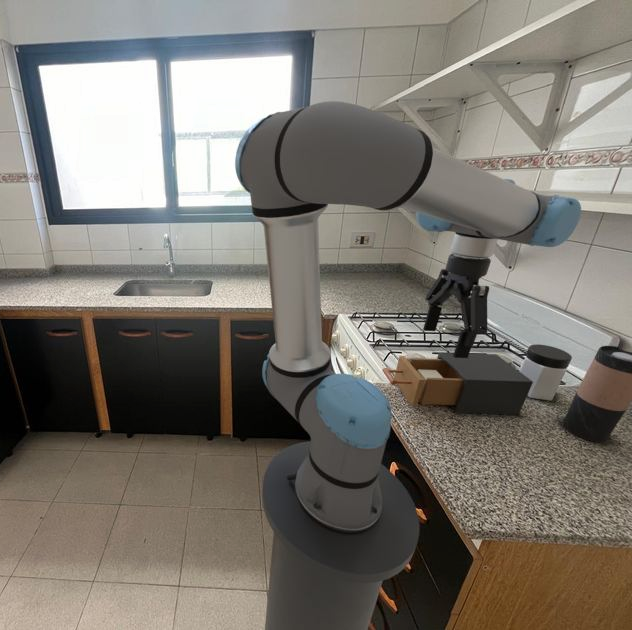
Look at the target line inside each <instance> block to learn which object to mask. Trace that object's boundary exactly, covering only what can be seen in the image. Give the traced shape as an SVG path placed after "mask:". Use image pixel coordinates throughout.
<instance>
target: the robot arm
mask: <svg viewBox="0 0 632 630" xmlns="http://www.w3.org/2000/svg"><path fill="white" fill-rule="evenodd" d="M234 168H235V173H236V174H235V175H236V178H237V180H238V181H239V183H240V185H241V187H243V189H244V190H245V191H246V192H247V193H249V194H250V195H249V196H250V203H251V204H250V205H251V212H252V213H251V214H252V217H253V218H254V219H256V220H257V221H258V222H260V223H261V224H262V226H263V233H264V242H265V243H264V244H265V253H266V262H267V271H268V272H267V273H268V284H269V292H270V302H271V312H272V321H273V332H274V340H275V343H274V344H273V345H272V346H270V349H269V352H268V354H267V356H266V357H267V359H266V360H264V361H263V364H262V370H261V371H262V372H261V374H262V376H261V377H262V379H263V383H264V386H266V388H267V390H268V391H269V393H270V395H271V396H272V397H273V398H274V399H275V400H277V401H278V402H279V404H280V405H281V406H282V407H283V408H284V409H285V410H286V411H287V412H288V413H289V414H290V415H291V416H292V417H293V418H294V419H295V421H296V422H297V423H298V424H299V425H300V426H301V427H302V428H303V429H304V430H305V431H306V432H307V434H308V435H309V437H310V441H311V443H310V451H309V454H308V456H307V457H306V459H305V460H304V462H303V463H302V465H301V466H300V468H299V470H298V472H297V473H296V474H291V475H287V479H288V480H294V479H296V480H295V493H296V497H297V500H298V502H299V504H300V506H301V507H302V509H303V510H304V511H305V513H306V514H307V515H308V516H309V517H310V518H311V519H313V520H314V521H315V522H316V523H318V524H319V525H321V526H323V527H325V528H327V529H329V530H331V531H334V532H338V533H342V534H359V533H363V532H366V531H368V530H370V529H371V528H372V527H374V526H375V524H376V523H377V522H378V520H379V517H380V514H381V510H382V495H381V490H380V485H379V480H378V472H379V469H380V465H381V464H382V461H383V457H384V453H385V449H386V445H387V442H388V439H389V438H390V435H391V426H392V424H391V422H392V416H393V415H392V406H391V403H390V401H389V399H388V398H387V396H386V395H385V393H384V392H383V391H382V390H381V389H380V388H379V387H378V386H377V385H375V384H374V383H372V382H371V381H369V380H367V379H366V378H363V377H358V378H357V377H355V375H353V374H349V373H336V372H334V371H333V369H332V356H331V355H332V351H331V349H330V347H329V346H328V345H327V343H325V342H324V341H323V334H322V333H323V332H322V301H321V271H320V268H321V267H320V238H319V236H320V235H319V218H320V216H321V215H322V214H323V213H324V212H325V210H326V209H327V208H328V207H329V205H343V206H345V205H346V206H356V207H365V208H371V209H374V210H376V211H377V210H378V211H383V212H385V211H386V212H387V211H388V212H389V211H393V210H396V209H399V208H401V209H403V210H406V211H410V212H412V213H413V212H414V213H416V220H417V222H418V223H417V224H418V225H419V226H420V227H421V228H422V229H423V230H424V231H427V232H437V233H442V232H452V233H454V237H453V240H452V243H451V246H450V251H449V252H451V253H450V254H449V255H448V257H447V262H446V265H445V268H442V269H440V271H439V274H438V277H437V279H436V280H435V281H434V283H433V284H432V286H431V287H430V288H429V291H428V292H427V294H426V295H425V297H424V299H425V301H428V303H427V304H428V309H427V312H426V316H425V321H424V324H423V328H422V330H423V331H424V332H436V330H437V328H438V324H439V321H440V316H441V313H442V311H443V310H442V309H443V306H444V305H443V304H444V303H445V302H446V301H447V300H448V299H450V298H451V297H452V296H454V297H455V298H456V299H457V302H458V303H459V304H460V309H461V315H462V321H463V327H464V328H463V329H461V330H460V333H459V336H458V339H457V342H456V345H455V349H454V351H453V353H454V354H453V357H455V358H468V356H469V354H471V350H472V347H473V346H474V344H475V341H476V339H477V336H478V335H486V334H487V333H488V297H489V292H490V286H489V285H480V283H479V282H480V279H481V278H483V277H485V276H486V275H488V272H489V268H490V266H491V262H492V260H491V259H490V258H491V257H493V255H494V253H495V249H496V245H497V243H498V240H502V241H507V242H511V243H517V244H522V245H523V244H524V245H529V246H530V247H531V246H532V247H535V246H536V247H543V248H544V247H545V248H555V247H558V246H560V245H562V244H563V243H564V242H566V241H567V240H568V239H569V238H570V237H571V236H572V234H573V233H574V231H575V230H576V228H577V227H578V224H579V222H580V219H581V214H582V205H581V203H580V201H579V200H578V199H576V198H574V197H567V196H559V195H558V194H554V195H543V194H539V193H536V192H534V191H532V190H529V189H527V188H524V187H522V186H520V185H517V184H516V182H515V180H513V179H509V178H501V177H499V176H497V175H496V174H493V173H491V172H489V171H486V170H485V169H481V168H480V167H477V166H475V165H473V164H471V163H468V162H466V161H465V160H462V159H459V158H457V157H455V156H453V155H451V154H448V153H446V152H445V151H441V150H440V149H437V148H435V146H434V142H433V140H432V138H431V137H430V136H429V134H427V133H426V132H425V131H423V130H421V129H418V128H416V127H415V126H412V125H410V124H408V123H407V122H403V121H401V120H399V119H397V118H394V117H392V116H390V115H387V114H385V113H383V112H380V111H376V110H374V109H370V108H367V107H365V106H362V105H359V104H354V103H350V102H345V101H335V100H329V101H322V102H316V103H313V104H311V105H308V106H302V107H299V108H293V109H290V110H285V111H277V112H275V113H271V114H268V115H267V116H266V117H263V118H261V119H258V120H257V121H255V122H254V123H253V124H252V125H251V126H249V127H248V128H247V130H246V131H245V132H244V133H243V136H242V137H241V138H240V140H239V143H238V144H237V148H236V152H235V157H234Z"/></svg>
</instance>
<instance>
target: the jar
mask: <svg viewBox="0 0 632 630" xmlns="http://www.w3.org/2000/svg"><path fill="white" fill-rule="evenodd" d="M572 359H573V357H572V355H571V354H570V353H569V352H567V351H565V350H563V349H561V348H558V347H556V346H552V345H547V344H539V343H538V344H531V345H529V347H528V348H527V349H526V353H525V358H524V360H523V362H522V363H521V365H520V367H519V370H518V371H519V372H521V373H522V374H523V375H525V376H526V377H527V378H529V379H530V380H531V381H533V383H532V386H531V388H530V390H529V393H528V395H527V397H529V398H530V399H536V400H543V401H549V402H550V401H553V399H554V397H555V395H556V393H557V392H558V389H559V386H560V385H561V382H562V380H563V378H564V376H565V375H566V372H567V369H568V367H569V365H570V364H571V361H572Z"/></svg>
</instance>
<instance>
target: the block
mask: <svg viewBox="0 0 632 630" xmlns="http://www.w3.org/2000/svg"><path fill="white" fill-rule="evenodd" d="M417 372H418V373H419V374H420V375H421V377H422V378H423V379H424V384H423V387H422V391H421V394H423V390H424V387H425V383H426V380H427V378H443V377H442V376H441V375H440V374H439V373H438V372H437V371H436V370H419V369H418V370H417Z"/></svg>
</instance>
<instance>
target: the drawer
mask: <svg viewBox="0 0 632 630" xmlns="http://www.w3.org/2000/svg"><path fill="white" fill-rule="evenodd" d="M397 360H398V361H397V363H396V364H397V365H396V369H388V368H387V367H383V368H382V371H381V372H383V375H384V376H385V377H386V378H387V380H388V381H389V383H390V384H391V386H397V387H398V388H399V390H400V391H401V392H402V394H403V396H404V397H405V398H406V400H407V401H408V402H409V404H410V405H411V406H412V407H418V404H419V403H420V404H421V405H441V406H443V405H444V406H450V405H456V403H457V400H458V397H459V394H460V391H461V388H462V385H463V382H464V380H463V379H462V378H461V377H460V376H459V375H458V374H457V373H456V372H455V371H454V370H453V369H452V368H451V367H450V366H449V365H448V364H447V363H446V362H445V361H443V360H442V359H437V358H427V357H426V358H425V357H423V358H421V357H409V359H407V357H405V356H404V355H399V356H398V359H397ZM418 369H419V370H436V371H437V372H438V373H439V374H440V375H441V376H442V377H443V378H427V380H426V383H425V387H424V390H423V394H421V391H422V387H423V384H424V379H423V378H422V377H421V375H420V374H419V373H418V372H417V370H418ZM392 373H393V374H394V375H393V374H392Z"/></svg>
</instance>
